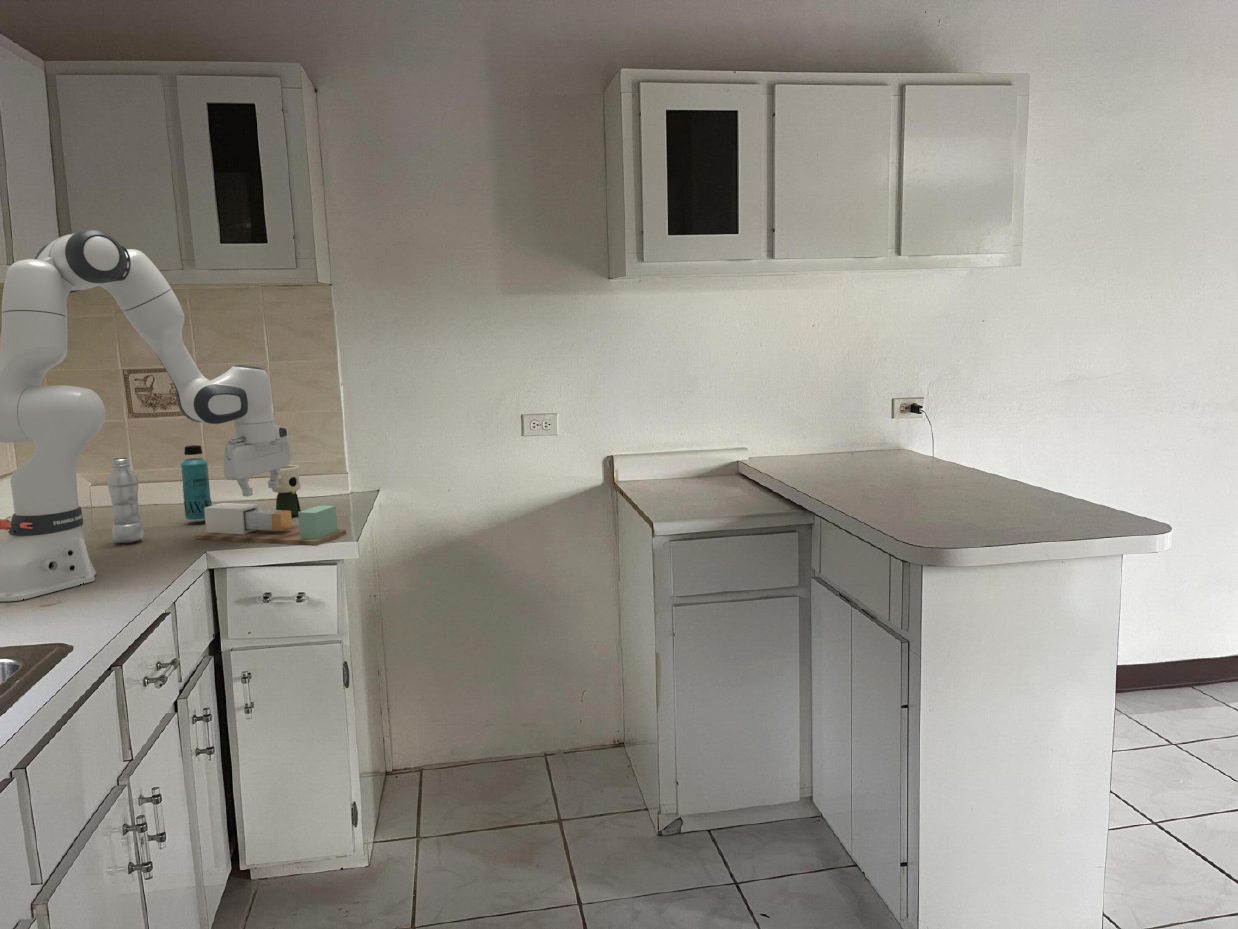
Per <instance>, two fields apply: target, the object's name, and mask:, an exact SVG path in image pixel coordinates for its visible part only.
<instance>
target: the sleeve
mask: <svg viewBox="0 0 1238 929" xmlns="http://www.w3.org/2000/svg"><path fill="white" fill-rule="evenodd" d="M249 509H259V504H258V503H235V502H234V503H231V502H230V503H229V502H221V503H217V504H213V505H212V506H209V507H205V508H204V512H205V518H204V522H205V532H209V533H229V534H246V533H249V532H252V531H255V530H252V529H245V527H244V516H243V511H246V510H249Z"/></svg>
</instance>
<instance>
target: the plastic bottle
mask: <svg viewBox="0 0 1238 929" xmlns="http://www.w3.org/2000/svg"><path fill="white" fill-rule="evenodd" d="M130 466H131V462H130V457H127V456H125V457H114V458H111V468H112V471H110V474H109V475H108V478H107V481H106V484H107V488H108V492H109V495H110V501H111V504H112V507H111V508H112V526H111V527H112V530H111V532H112V533H111V534H112V538H113V540H114V541H115V543H117V544H132V543H135V542H138V541H141V540H142V539H143V537H144V530H145V529H144V526H143V523H142V521H141V515H140V511H139V496H138V495H139V494H138V493H139V478H138V476H137V474H136V473H135V471H133V470H132V469H131V467H130Z"/></svg>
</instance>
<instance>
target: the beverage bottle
mask: <svg viewBox="0 0 1238 929" xmlns="http://www.w3.org/2000/svg"><path fill="white" fill-rule="evenodd" d="M202 449H203V448H202V446H201V445H197V444H195V445H194V444H193V445H186V446H185V447H184V451H183V452H184V455H185V456H193V455H201V454H203V450H202ZM208 464H209V463H208V461H207V460H205V459H204V458H203V457H195V458H193V457H191V458H186V459H184V460H183V461H182V462H181V464H180V466H181V467H180V468H181V480H182V494H183V495H182V496H183V504H184V505H183V506H184V516H185V519H186V520H190V521H191V520H194V521H195V520H205V512H204V508H205V507H209V506H212V498H211V489H210V487H211V486H210V481H211V480H210V478H209V468H208Z"/></svg>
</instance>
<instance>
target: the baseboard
mask: <svg viewBox="0 0 1238 929" xmlns="http://www.w3.org/2000/svg"><path fill="white" fill-rule="evenodd" d="M346 534H347V529H342V528H341V529H338V528H337V532H334V533H332V534H329V535H327V536H324V537H321V538H319V539H305V538H300V527H299V526H298V527H297V526H292V527H291V528H289V529H286V530H283V531H273V530H255V531H252V532H249V533H246V534H229V533H209V532H206V531H203V532H200V533H196V534H194V535H193V536H194V540H203V541H204V540H207V541H222V542H240V543H241V542H242V543H243V542H244V543H257V544H258V543H261V544H262V543H263V544H275V545H276V544H279V545H280V544H281V545H282V544H283V545H295V546H296V545H297V546H299V545H300V546H315V547H317V546H319V545H321V544H324V543H326V542H329V541H331V540H334V539H336V538H339V537H341V536H345V535H346Z"/></svg>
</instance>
